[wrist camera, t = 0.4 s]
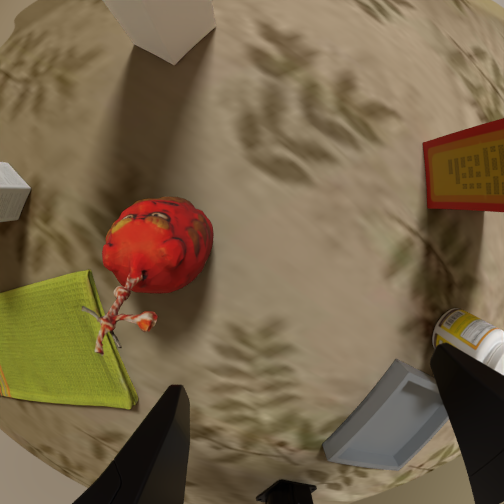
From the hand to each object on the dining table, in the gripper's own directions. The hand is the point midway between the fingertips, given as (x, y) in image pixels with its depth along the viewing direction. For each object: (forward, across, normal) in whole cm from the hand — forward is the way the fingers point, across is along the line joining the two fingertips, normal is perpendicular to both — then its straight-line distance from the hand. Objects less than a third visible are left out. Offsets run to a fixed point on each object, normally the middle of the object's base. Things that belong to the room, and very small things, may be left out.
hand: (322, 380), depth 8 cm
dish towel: (+14, +34, +12) cm, 38 cm away
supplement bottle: (+13, -20, +13) cm, 27 cm away
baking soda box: (+17, -20, -3) cm, 27 cm away
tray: (+9, -14, +24) cm, 29 cm away
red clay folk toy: (+16, +8, +1) cm, 18 cm away
